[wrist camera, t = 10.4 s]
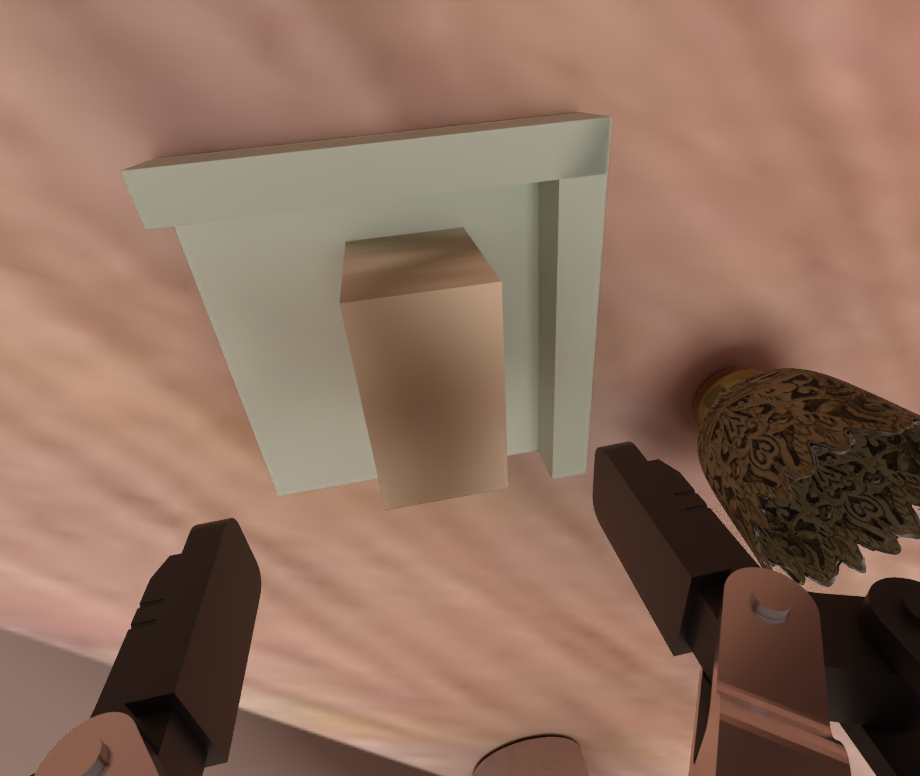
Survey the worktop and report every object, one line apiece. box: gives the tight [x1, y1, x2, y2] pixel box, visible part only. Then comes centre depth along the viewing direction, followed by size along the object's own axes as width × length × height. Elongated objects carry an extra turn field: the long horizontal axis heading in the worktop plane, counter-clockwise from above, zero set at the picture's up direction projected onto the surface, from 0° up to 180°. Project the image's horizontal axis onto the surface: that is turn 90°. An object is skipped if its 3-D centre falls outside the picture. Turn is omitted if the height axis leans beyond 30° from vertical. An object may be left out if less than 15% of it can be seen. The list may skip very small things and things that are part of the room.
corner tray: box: [121, 112, 612, 496], centre depth 18 cm, size 14×13×2 cm
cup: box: [693, 367, 920, 587], centre depth 20 cm, size 8×7×8 cm
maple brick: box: [339, 227, 508, 510], centre depth 16 cm, size 4×7×6 cm, turn 4°
